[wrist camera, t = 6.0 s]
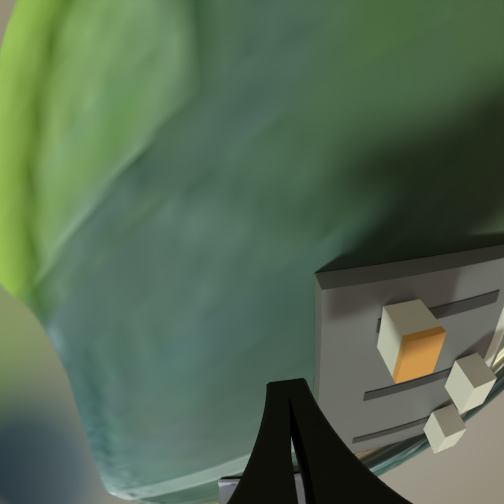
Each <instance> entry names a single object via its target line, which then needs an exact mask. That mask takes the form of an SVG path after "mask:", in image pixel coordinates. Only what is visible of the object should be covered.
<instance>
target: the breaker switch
mask: <svg viewBox="0 0 504 504" xmlns="http://www.w3.org/2000/svg"><path fill="white" fill-rule="evenodd" d="M445 335H446V331H445V329H444V328H443V327H442V326H441V324H440V323H439V322H438V321H437V319H436V318H435V317H434V316H433V314H432V313H431V312H430V311H429V309H428V308H427V307H426V306H425V305H424V303H423V302H422V301H421V300H420V299H418V300H413V301H408V302H403V303H398V304H393V305H387V306H383V313H382V320H381V326H380V332H379V338H378V344H377V348H378V350H379V352H380V354H381V356H382V358H383V359H384V361H385V363H386V365H387V367H388V369H389V371H390V373H391V376H392V378H393V380H394V382H395V384H397V383H400V382H404V381H407V380H411V379H414V378H418V377H421V376H424V375H428V374H431V373H433V370H434V368H435V365H436V362H437V359H438V356H439V353H440V350H441V347H442V344H443V341H444V338H445Z"/></svg>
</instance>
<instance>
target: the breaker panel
mask: <svg viewBox="0 0 504 504" xmlns="http://www.w3.org/2000/svg"><path fill="white" fill-rule="evenodd" d="M314 277H315V359H314V393H313V397H314V399H315V401H316V402H317V404H318V406H319V408H320V409H321V411H322V413H323V414H324V416H325V417H326V419H327V420H328V422H329V423H330V425H331V426H332V427H333V429H334V430H335V432H336V433H337V434H338V436H339V437H340V438H341V439H342V441H343V442H344V443H345V444H346V446H347V447H348V448H349V449H350V450H351V452H352V453H353V454H355V453H359V452H363V451H367V450H371V449H375V448H379V447H382V446H386V445H389V444H393V443H396V442H399V441H402V440H406V439H409V438H412V437H415V436H417V435H420V434H423V433H425V434H426V436H427V438H428V441H429V443H430V445H431V447H432V449H433V452H434V453H437V452H439V451H442V450H444V449H447V448H449V447H451V446H454V445H455V444H456V443H457V441H458V440H459V439H460V437H461V436H462V434H463V433H464V432H465V430H466V429H467V428H466V426H465V424H464V422H463V420H462V418H463V417H465V415H466V414H467V412H468V410H470V409H472V408H474V407H476V406H478V405H480V404H483V402H484V400H485V399H486V397H487V395H488V393H489V392H490V390H491V388H492V386H493V385H494V383H495V381H496V379H497V378H496V376H495V375H494V373H493V372H492V371H491V368H492V366H493V364H494V362H495V359H496V357H497V355H498V353H499V351H500V348H501V346H502V344H503V341H504V244H502V245H497V246H491V247H485V248H480V249H474V250H468V251H462V252H456V253H450V254H444V255H437V256H431V257H425V258H418V259H412V260H405V261H399V262H392V263H385V264H378V265H371V266H364V267H357V268H349V269H342V270H335V271H327V272H319V273H314ZM418 299H420V300H421V301H422V302H423V303H424V305H425V306H426V307H427V308H428V309H429V311H430V312H431V313H432V314H433V316H434V317H435V318H436V319H437V321H438V322H439V323H440V324H441V326H442V327H443V328H444V329H445V331H446V335H445V338H444V341H443V344H442V347H441V350H440V353H439V356H438V359H437V362H436V365H435V368H434V370H433V373H431V374H428V375H424V376H421V377H418V378H414V379H411V380H407V381H404V382H400V383H397V384H395V382H394V380H393V378H392V376H391V373H390V371H389V369H388V367H387V365H386V363H385V361H384V359H383V358H382V356H381V354H380V352H379V350H378V348H377V344H378V338H379V332H380V326H381V320H382V313H383V306H387V305H393V304H398V303H403V302H408V301H413V300H418Z"/></svg>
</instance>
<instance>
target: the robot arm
mask: <svg viewBox="0 0 504 504" xmlns="http://www.w3.org/2000/svg"><path fill="white" fill-rule="evenodd" d="M291 437H292V441H293V446H294V450H295V454H296V458H297V462H298V466H299V470H300V473H298V474H294V470H293V463H292V456H291ZM218 485H219V486H220V487H219V504H413V503H411V502H409V501H408V500H406V499H405V498H403V497H402V496H400V495H399V494H398V493H396V492H395V491H393V490H392V489H391V488H390V487H388V486H387V485H386V484H385V483H384V482H382V481H381V480H380V479H379V478H378V477H377V476H376V475H374V474H373V473H372V472H371V471H370V470H369V469H368V468H367V467H366V466H365V465H364V464H363V463H362V462H361V461H360V460H359V459H358V458H357V457H356V456H355V455H354V454H353V453H352V452H351V450H350V449H349V448H348V447H347V446H346V444H345V443H344V442H343V441H342V439H341V438H340V437H339V436H338V434H337V433H336V432H335V430H334V429H333V427H332V426H331V425H330V423H329V422H328V420H327V419H326V417H325V416H324V414H323V413H322V411H321V409H320V408H319V406H318V404H317V402H316V401H315V399H314V397H313V395H312V393H311V391H310V389H309V387H308V384H307V382H306V380H305V379H304V378H299V379H292V380H284V381H276V382H269V383H268V384H267V392H266V402H265V408H264V413H263V418H262V422H261V426H260V430H259V433H258V436H257V439H256V442H255V445H254V448H253V451H252V454H251V456H250V459H249V461H248V464H247V466H246V468H245V470H244V473H243V475H242V477H241V479H222V480H219V481H218Z"/></svg>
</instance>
